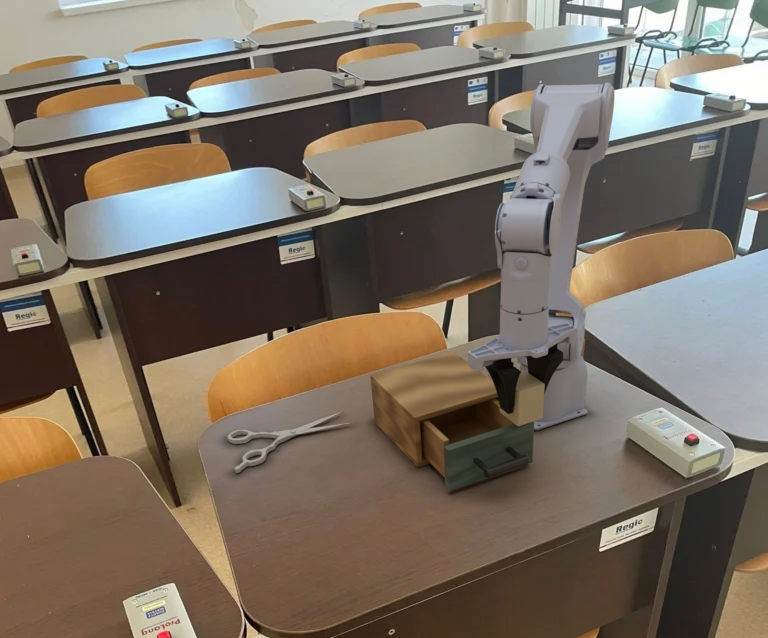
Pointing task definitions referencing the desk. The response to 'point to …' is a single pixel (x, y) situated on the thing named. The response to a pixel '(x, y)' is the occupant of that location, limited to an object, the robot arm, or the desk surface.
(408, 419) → the cabinet
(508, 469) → the drawer
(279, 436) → the scissors
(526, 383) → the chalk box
